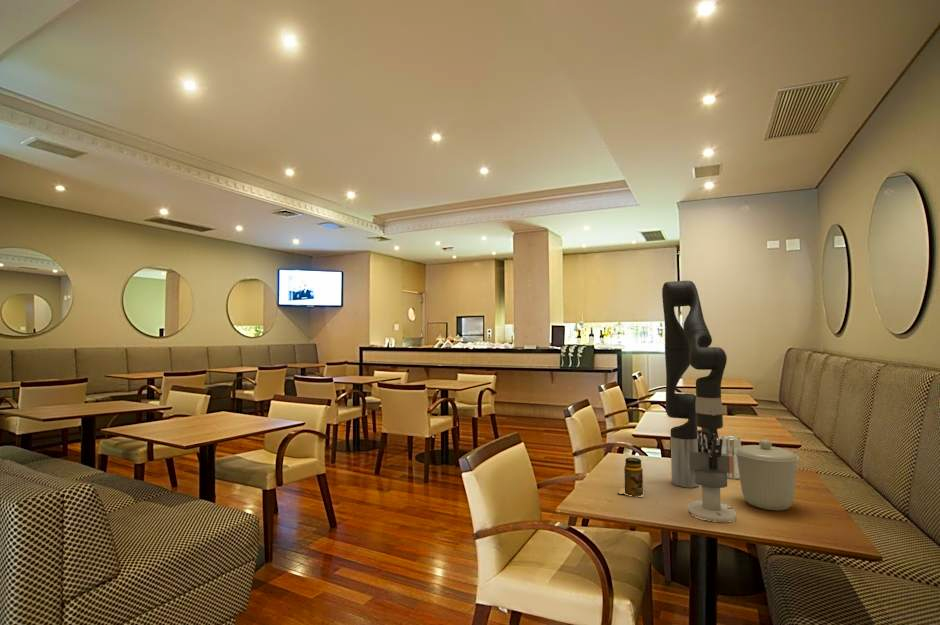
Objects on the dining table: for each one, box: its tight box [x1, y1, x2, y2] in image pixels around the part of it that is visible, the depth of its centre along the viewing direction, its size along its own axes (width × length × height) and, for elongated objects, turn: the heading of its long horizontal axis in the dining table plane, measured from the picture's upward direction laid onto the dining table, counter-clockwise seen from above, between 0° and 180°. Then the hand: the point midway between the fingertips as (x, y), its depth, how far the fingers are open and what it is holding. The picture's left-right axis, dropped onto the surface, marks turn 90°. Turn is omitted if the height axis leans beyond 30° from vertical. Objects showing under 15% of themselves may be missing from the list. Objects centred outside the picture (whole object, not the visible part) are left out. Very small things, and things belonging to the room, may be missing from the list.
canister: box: [734, 438, 800, 511], centre depth 155 cm, size 18×18×21 cm
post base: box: [688, 486, 737, 523], centre depth 147 cm, size 13×13×9 cm
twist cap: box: [688, 451, 734, 489], centre depth 148 cm, size 12×9×9 cm
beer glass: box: [721, 435, 742, 480], centre depth 186 cm, size 7×7×15 cm
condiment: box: [623, 457, 646, 496], centre depth 167 cm, size 7×8×12 cm
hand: (710, 467), depth 148 cm, fingers open, 4 cm apart
